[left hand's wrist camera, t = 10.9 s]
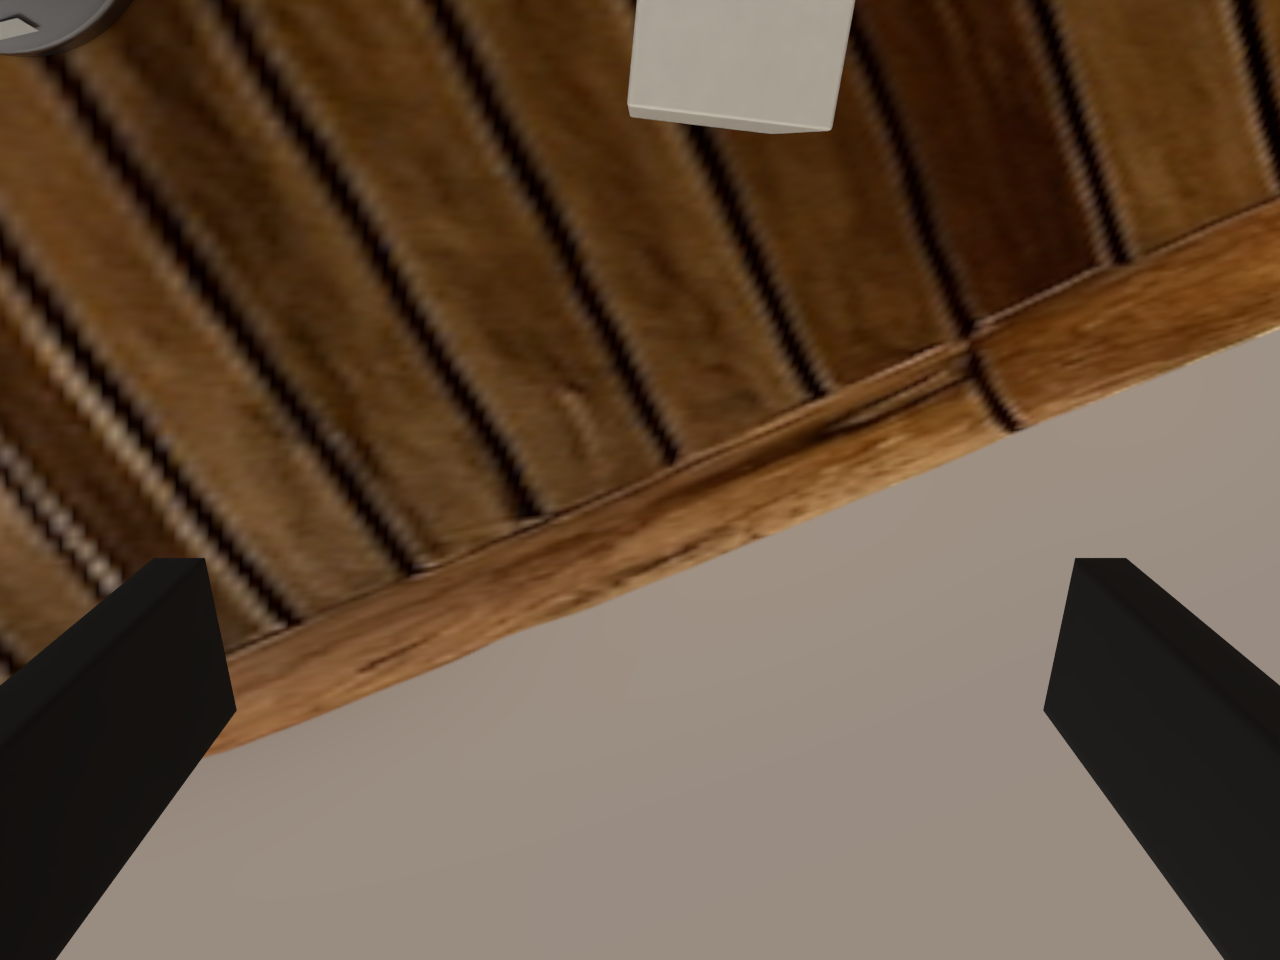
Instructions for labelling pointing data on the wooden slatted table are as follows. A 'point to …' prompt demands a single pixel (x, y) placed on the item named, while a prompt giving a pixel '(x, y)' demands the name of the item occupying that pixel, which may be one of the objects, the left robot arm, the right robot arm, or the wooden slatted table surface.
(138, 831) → the left robot arm
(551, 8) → the wooden slatted table surface
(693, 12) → the bar
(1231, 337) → the wooden slatted table surface
